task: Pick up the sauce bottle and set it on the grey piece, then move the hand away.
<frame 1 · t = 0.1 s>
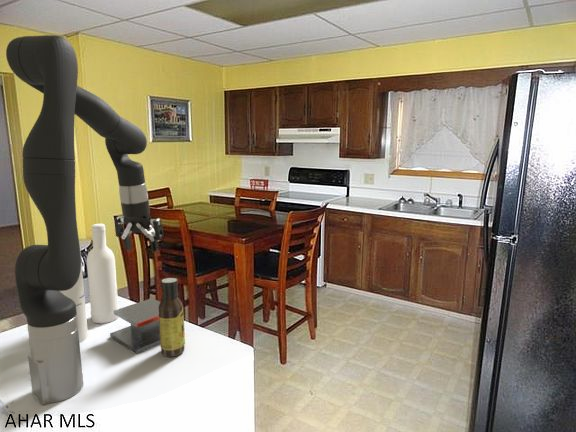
hand: (141, 250, 119), 22 cm above the counter, tool pointing down, fingers open, 8 cm apart
grey piece: (146, 336, 113), on the counter
sauce bottle: (173, 352, 105), on the counter
bottle: (105, 318, 124), on the counter
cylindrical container: (73, 339, 112), on the counter
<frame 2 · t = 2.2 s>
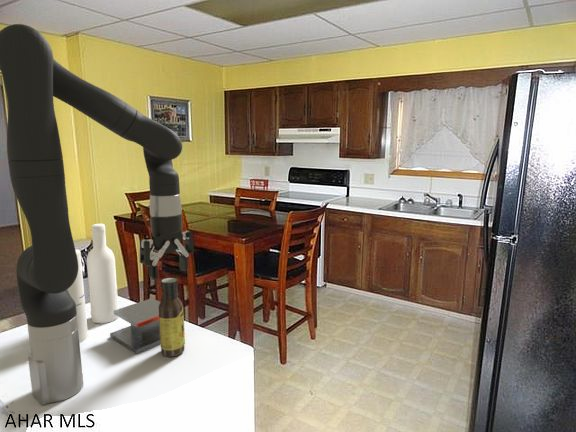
hand: (169, 274, 101), 21 cm above the counter, tool pointing down, fingers open, 8 cm apart
nothing on the counter moved.
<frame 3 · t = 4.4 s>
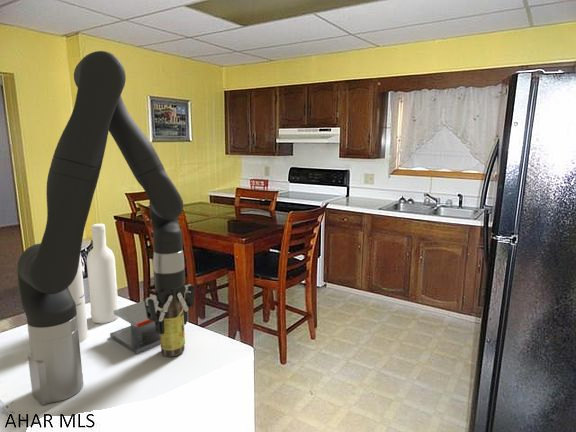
hand: (172, 328, 104), 7 cm above the counter, tool pointing down, fingers closed on sauce bottle, 6 cm apart
sauce bottle: (173, 352, 105), on the counter, touching gripper
everything else where it was.
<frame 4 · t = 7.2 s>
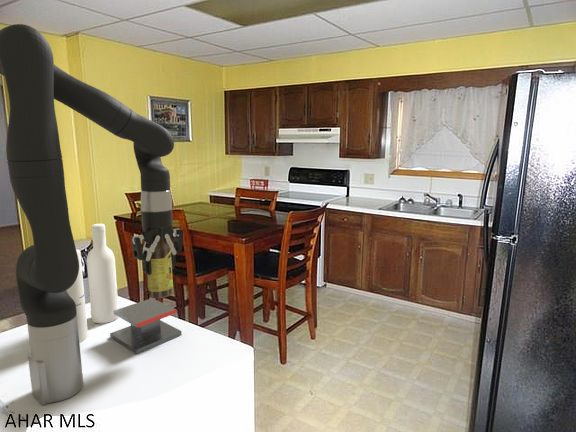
hand: (159, 270, 104), 22 cm above the counter, tool pointing down, fingers closed on sauce bottle, 6 cm apart
sauce bottle: (160, 295, 105), point 15 cm above the counter, touching gripper
everything else where it was.
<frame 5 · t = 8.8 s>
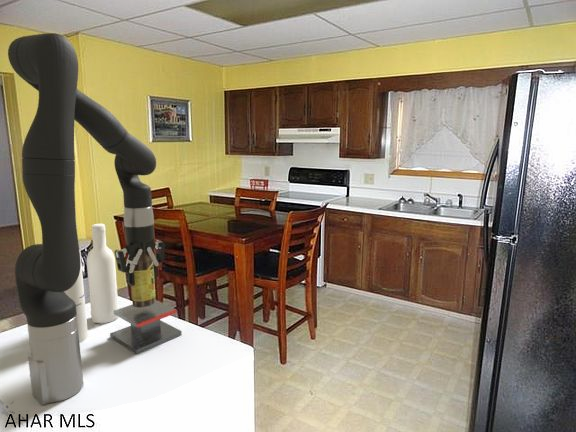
hand: (142, 281, 110), 16 cm above the counter, tool pointing down, fingers closed on sauce bottle, 6 cm apart
sauce bottle: (144, 304, 112), point 10 cm above the counter, touching gripper
everything else where it was.
when the fingers open (16 cm above the counter, at t = 9.9 s): sauce bottle stays where it is, resting on grey piece.
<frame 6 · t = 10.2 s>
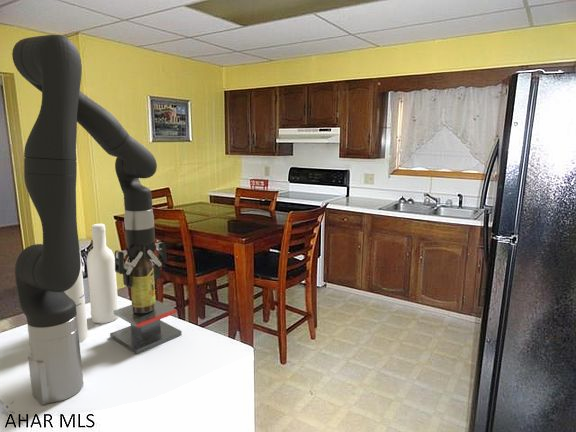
hand: (143, 282, 110), 16 cm above the counter, tool pointing down, fingers open, 8 cm apart
sauce bottle: (144, 310, 112), point 8 cm above the counter, touching grey piece
everything else where it was.
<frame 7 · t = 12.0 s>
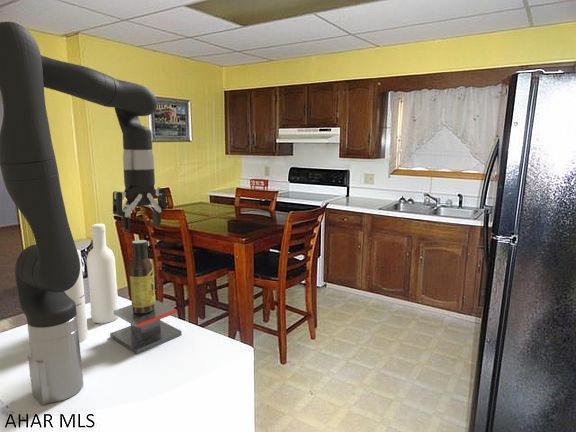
hand: (142, 228, 106), 32 cm above the counter, tool pointing down, fingers open, 8 cm apart
nothing on the counter moved.
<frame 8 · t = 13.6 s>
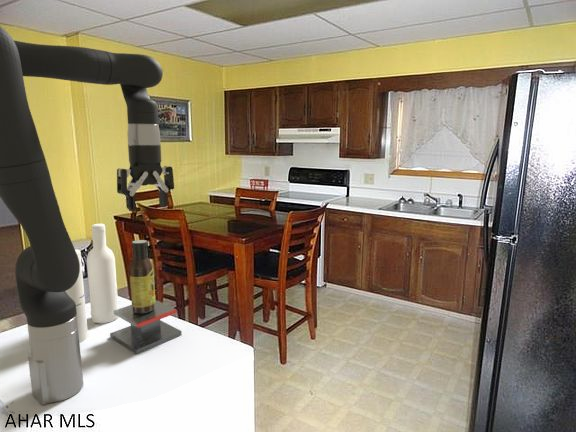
hand: (148, 208, 100), 38 cm above the counter, tool pointing down, fingers open, 8 cm apart
nothing on the counter moved.
at the end: sauce bottle inside the target area on the grey piece (0.2 cm from its centre), point 7.8 cm above the grey piece's base; sauce bottle tilted 0°; the gripper is holding nothing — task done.
